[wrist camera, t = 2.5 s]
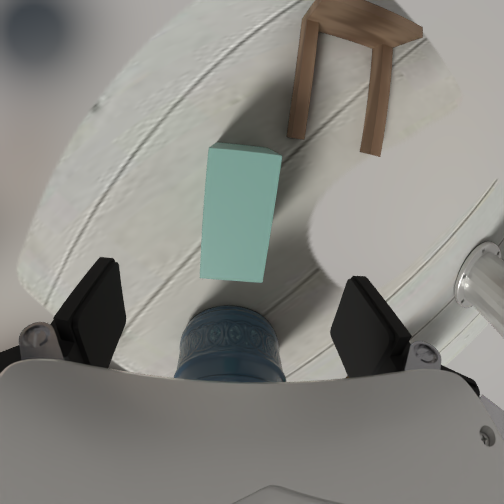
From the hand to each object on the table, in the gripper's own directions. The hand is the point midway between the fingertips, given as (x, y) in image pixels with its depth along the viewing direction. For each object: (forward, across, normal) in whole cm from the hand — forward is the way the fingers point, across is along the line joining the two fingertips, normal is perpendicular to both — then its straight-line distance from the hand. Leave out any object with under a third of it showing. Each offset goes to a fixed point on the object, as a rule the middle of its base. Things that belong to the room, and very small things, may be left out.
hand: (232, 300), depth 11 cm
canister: (+19, -2, +20) cm, 28 cm away
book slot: (+19, -10, -13) cm, 25 cm away
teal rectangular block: (+19, -1, 0) cm, 19 cm away
